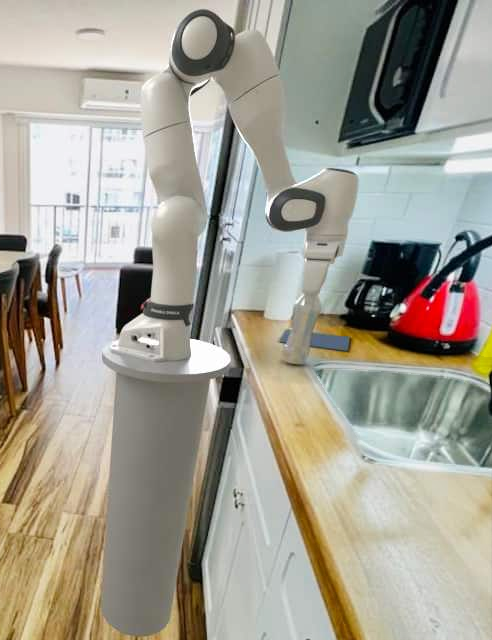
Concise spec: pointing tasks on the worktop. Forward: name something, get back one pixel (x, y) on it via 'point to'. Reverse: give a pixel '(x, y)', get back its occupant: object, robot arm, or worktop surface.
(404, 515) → the worktop surface
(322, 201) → the robot arm
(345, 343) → the cloth
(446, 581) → the worktop surface
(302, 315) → the plastic bottle
